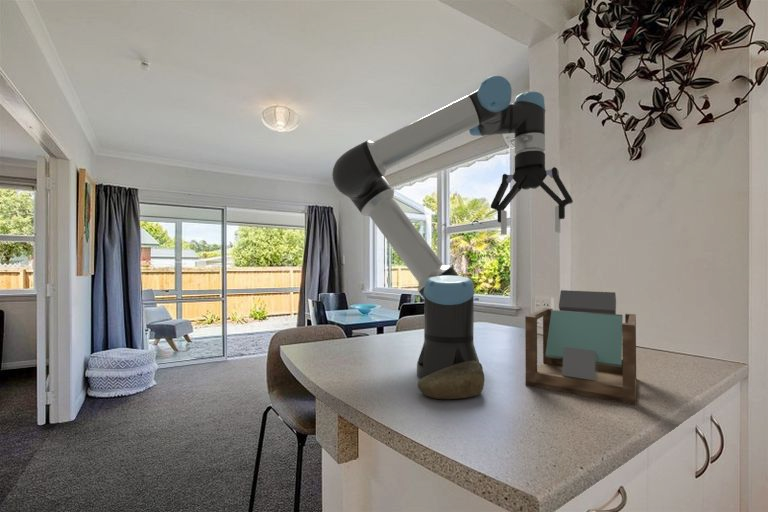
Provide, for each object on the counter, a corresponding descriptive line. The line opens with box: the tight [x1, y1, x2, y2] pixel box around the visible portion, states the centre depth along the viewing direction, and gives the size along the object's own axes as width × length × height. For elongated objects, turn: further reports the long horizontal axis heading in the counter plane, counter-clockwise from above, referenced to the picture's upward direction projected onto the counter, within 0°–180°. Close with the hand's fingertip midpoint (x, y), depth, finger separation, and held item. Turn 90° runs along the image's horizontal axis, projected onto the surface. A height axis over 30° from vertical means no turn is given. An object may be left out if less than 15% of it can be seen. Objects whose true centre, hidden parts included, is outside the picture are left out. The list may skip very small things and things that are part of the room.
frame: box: [524, 307, 637, 406], centre depth 84 cm, size 20×20×15 cm
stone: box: [417, 361, 485, 400], centre depth 76 cm, size 9×14×10 cm, turn 114°
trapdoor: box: [545, 289, 624, 367], centre depth 89 cm, size 15×18×4 cm
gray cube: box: [562, 347, 598, 381], centre depth 80 cm, size 6×6×6 cm
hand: (529, 233), depth 98 cm, fingers open, 13 cm apart
